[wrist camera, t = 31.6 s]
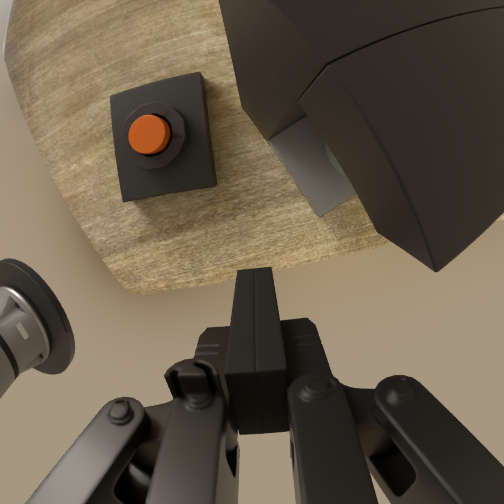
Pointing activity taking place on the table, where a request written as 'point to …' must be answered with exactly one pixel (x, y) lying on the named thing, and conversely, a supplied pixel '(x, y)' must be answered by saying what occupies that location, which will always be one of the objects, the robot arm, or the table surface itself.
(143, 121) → the button
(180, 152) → the control pad
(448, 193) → the coffee maker
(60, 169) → the table surface
